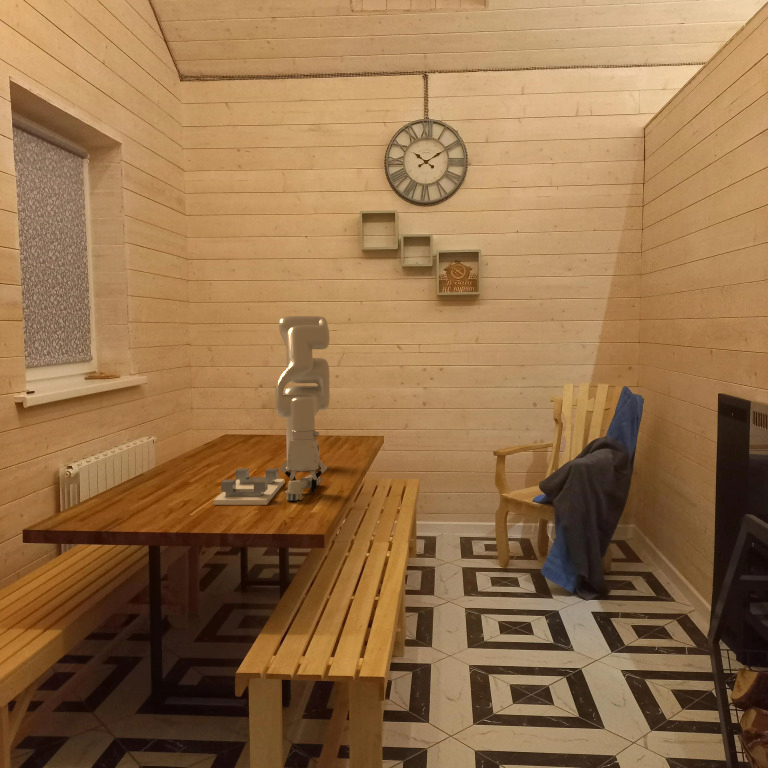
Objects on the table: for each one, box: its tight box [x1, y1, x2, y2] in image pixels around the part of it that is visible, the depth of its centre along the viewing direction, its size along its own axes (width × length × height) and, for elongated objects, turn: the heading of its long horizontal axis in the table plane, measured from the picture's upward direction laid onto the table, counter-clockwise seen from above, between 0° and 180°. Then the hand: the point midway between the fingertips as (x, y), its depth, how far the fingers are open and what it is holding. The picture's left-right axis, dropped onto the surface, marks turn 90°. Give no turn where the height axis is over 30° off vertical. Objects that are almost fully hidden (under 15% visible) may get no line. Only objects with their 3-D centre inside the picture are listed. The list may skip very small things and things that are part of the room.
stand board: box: [213, 478, 285, 506], centre depth 220 cm, size 30×16×2 cm, turn 178°
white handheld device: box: [284, 473, 322, 501], centre depth 219 cm, size 5×7×25 cm
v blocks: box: [220, 467, 279, 497], centre depth 220 cm, size 22×14×4 cm, turn 178°
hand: (303, 490), depth 219 cm, fingers closed on white handheld device, 5 cm apart
